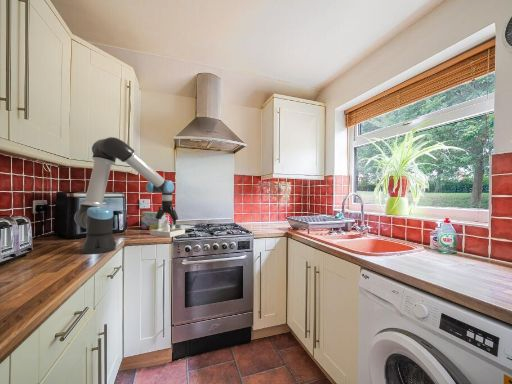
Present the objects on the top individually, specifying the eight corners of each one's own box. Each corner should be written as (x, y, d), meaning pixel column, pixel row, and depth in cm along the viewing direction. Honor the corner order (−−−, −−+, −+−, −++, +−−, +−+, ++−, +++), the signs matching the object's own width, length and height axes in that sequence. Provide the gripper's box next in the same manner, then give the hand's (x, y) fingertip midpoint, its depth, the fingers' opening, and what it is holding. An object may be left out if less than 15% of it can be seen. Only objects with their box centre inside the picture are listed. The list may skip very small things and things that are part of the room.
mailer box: (170, 237, 160) (170, 232, 160) (149, 234, 168) (149, 230, 168) (184, 233, 175) (185, 229, 175) (165, 231, 183) (165, 227, 183)
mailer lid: (181, 229, 172) (181, 225, 172) (162, 227, 179) (162, 223, 179) (194, 226, 186) (195, 223, 186) (176, 225, 194) (176, 221, 194)
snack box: (140, 229, 192) (141, 211, 192) (145, 228, 198) (146, 211, 198) (161, 230, 186) (161, 212, 186) (165, 229, 191) (165, 212, 192)
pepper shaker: (166, 233, 167) (166, 221, 167) (162, 233, 168) (162, 221, 169) (170, 233, 171) (170, 220, 171) (165, 232, 172) (165, 220, 172)
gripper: (183, 201, 169) (182, 228, 169) (158, 200, 178) (157, 226, 178) (176, 201, 162) (175, 230, 162) (150, 200, 172) (150, 227, 171)
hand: (166, 228), depth 170 cm, fingers open, 13 cm apart
